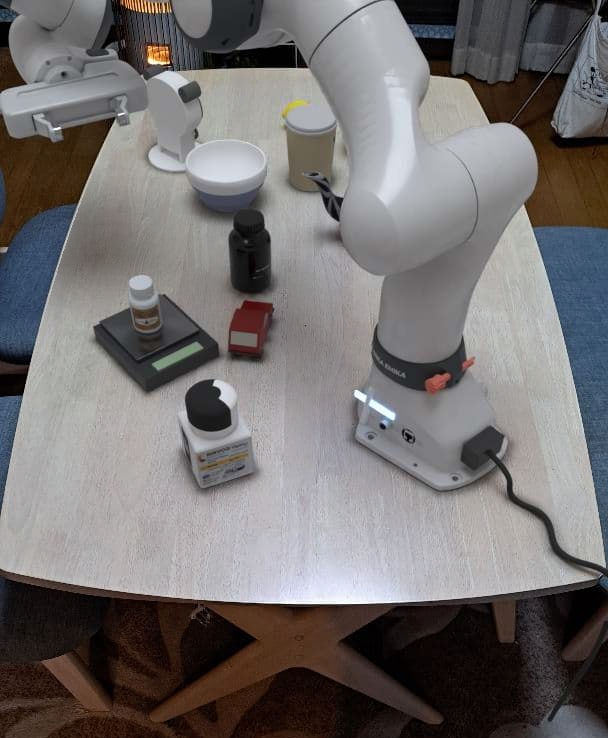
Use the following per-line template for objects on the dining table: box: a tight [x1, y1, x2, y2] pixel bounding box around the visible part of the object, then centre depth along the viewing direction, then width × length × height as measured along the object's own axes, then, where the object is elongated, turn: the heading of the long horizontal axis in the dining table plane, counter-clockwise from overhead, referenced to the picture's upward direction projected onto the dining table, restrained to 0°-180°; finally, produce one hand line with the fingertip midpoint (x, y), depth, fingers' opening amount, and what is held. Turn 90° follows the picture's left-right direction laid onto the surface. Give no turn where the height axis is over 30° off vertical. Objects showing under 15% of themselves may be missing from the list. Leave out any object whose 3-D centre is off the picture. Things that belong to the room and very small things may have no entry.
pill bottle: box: [128, 274, 163, 333], centre depth 119 cm, size 4×4×8 cm
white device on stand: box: [142, 63, 204, 173], centre depth 150 cm, size 12×11×15 cm
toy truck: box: [227, 299, 275, 359], centre depth 124 cm, size 6×12×5 cm, turn 170°
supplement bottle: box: [227, 208, 272, 295], centre depth 129 cm, size 7×7×12 cm
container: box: [176, 378, 255, 489], centre depth 106 cm, size 8×8×13 cm
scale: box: [92, 293, 221, 393], centre depth 123 cm, size 15×13×3 cm
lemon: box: [281, 99, 310, 121], centre depth 161 cm, size 7×5×5 cm
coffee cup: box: [284, 103, 338, 193], centre depth 147 cm, size 9×9×12 cm
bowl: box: [185, 138, 268, 213], centre depth 145 cm, size 14×14×8 cm
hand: (91, 128), depth 109 cm, fingers open, 8 cm apart
